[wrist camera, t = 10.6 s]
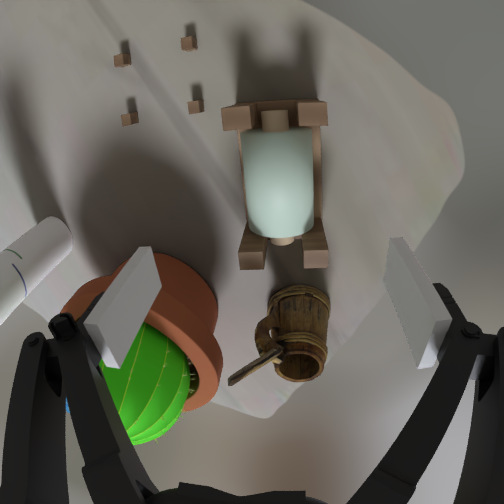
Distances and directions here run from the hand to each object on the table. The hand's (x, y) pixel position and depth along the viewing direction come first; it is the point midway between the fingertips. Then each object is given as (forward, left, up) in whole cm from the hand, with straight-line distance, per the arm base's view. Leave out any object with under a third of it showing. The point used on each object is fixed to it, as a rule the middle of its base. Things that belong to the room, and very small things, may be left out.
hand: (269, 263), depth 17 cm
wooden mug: (+19, 0, -22) cm, 29 cm away
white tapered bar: (+7, -36, -22) cm, 42 cm away
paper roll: (0, 0, -20) cm, 20 cm away
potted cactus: (+19, -19, -22) cm, 34 cm away
